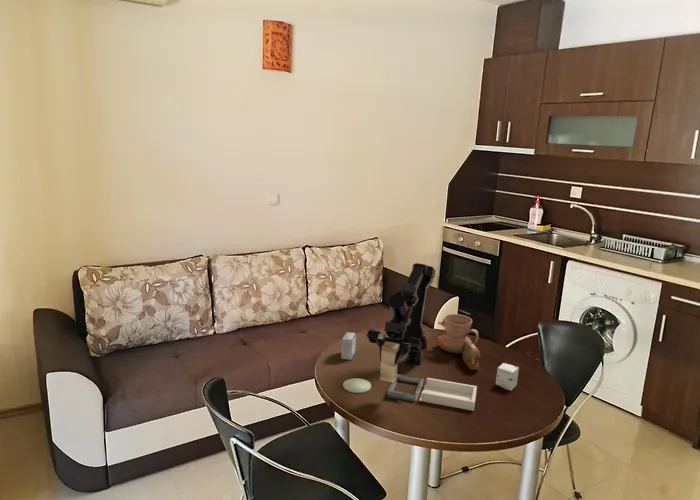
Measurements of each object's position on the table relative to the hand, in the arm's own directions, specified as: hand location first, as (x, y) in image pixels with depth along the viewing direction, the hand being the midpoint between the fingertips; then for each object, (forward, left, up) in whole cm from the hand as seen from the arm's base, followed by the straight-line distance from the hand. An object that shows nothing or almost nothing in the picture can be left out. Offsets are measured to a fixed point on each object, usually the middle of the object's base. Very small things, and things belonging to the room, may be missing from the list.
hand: (388, 363), depth 171 cm
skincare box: (-27, +39, -14) cm, 49 cm away
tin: (-40, +25, -14) cm, 49 cm away
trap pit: (-9, +5, -13) cm, 17 cm away
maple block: (-1, 0, -6) cm, 6 cm away
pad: (-6, -12, -13) cm, 19 cm away
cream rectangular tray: (-9, +20, -13) cm, 26 cm away
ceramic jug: (-53, +18, -14) cm, 58 cm away
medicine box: (-30, -23, -14) cm, 40 cm away
